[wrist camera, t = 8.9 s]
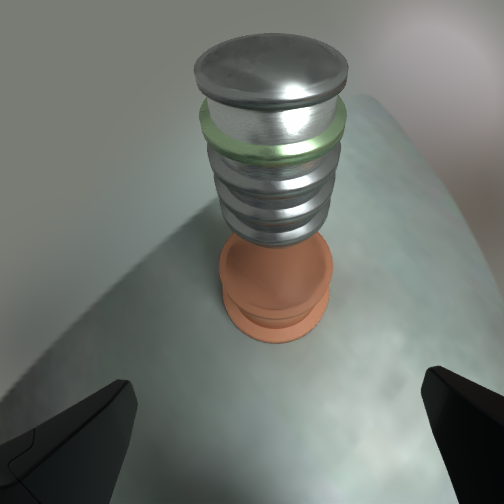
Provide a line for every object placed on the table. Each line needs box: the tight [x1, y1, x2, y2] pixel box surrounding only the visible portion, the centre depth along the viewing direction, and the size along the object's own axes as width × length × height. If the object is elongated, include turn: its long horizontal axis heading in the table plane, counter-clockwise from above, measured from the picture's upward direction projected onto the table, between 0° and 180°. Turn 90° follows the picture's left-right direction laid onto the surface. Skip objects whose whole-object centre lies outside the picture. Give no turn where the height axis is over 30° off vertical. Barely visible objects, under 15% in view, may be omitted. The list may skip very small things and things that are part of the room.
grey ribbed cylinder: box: [194, 33, 348, 249], centre depth 11 cm, size 5×5×8 cm
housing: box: [219, 231, 333, 344], centre depth 21 cm, size 8×8×5 cm
